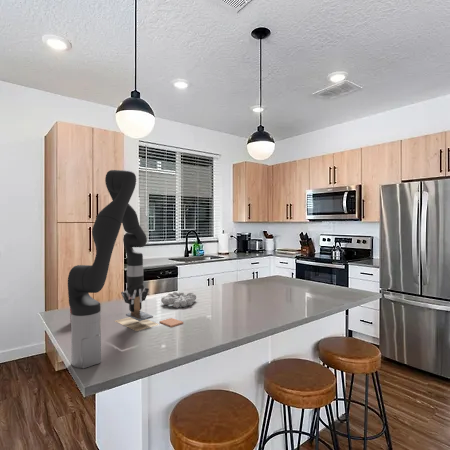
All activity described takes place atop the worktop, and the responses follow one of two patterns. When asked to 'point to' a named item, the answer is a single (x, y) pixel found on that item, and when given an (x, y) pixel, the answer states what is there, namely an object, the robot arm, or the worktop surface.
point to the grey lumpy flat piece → (179, 299)
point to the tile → (171, 322)
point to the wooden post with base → (138, 311)
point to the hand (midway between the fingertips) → (135, 310)
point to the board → (136, 323)
